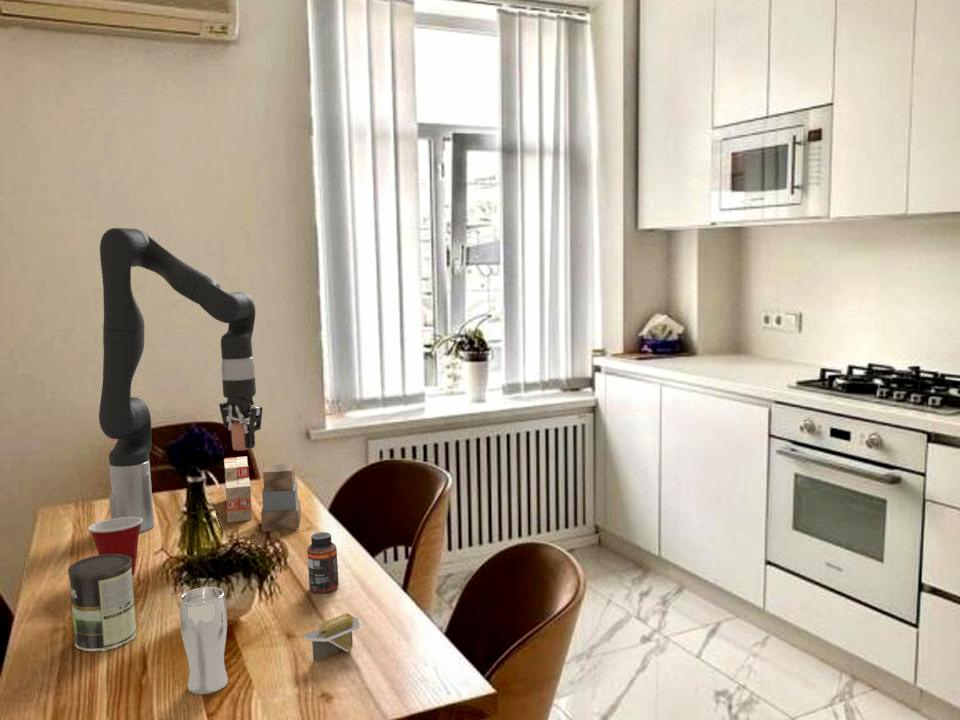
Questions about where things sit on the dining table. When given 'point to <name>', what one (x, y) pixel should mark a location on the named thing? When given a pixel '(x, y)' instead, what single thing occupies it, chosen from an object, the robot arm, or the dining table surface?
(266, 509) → the tower middle
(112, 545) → the plastic cup
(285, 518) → the tower bottom
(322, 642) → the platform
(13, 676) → the dining table surface
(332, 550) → the supplement bottle
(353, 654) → the dining table surface
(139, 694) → the dining table surface
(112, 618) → the coffee can
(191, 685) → the beer glass
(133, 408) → the robot arm
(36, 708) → the dining table surface
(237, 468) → the stack of blocks
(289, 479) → the tower top
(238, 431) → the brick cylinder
